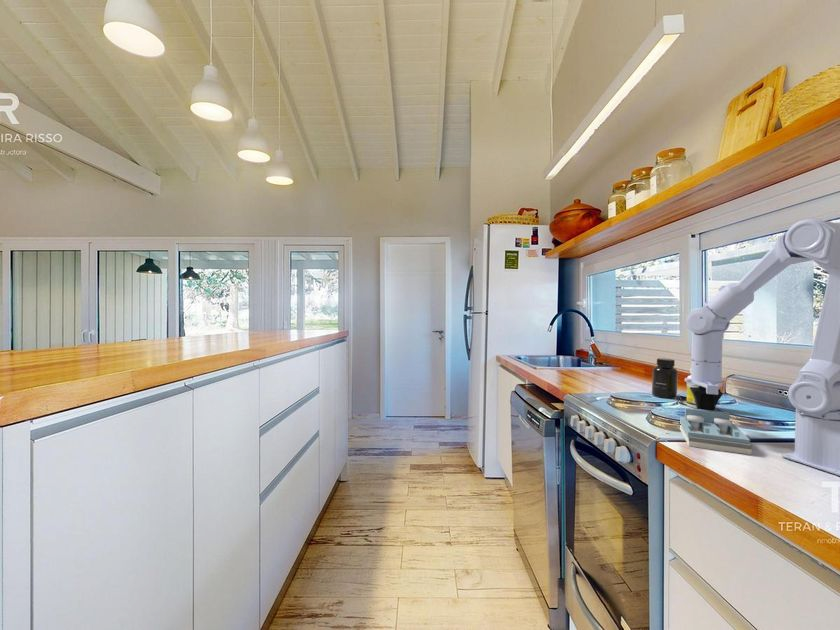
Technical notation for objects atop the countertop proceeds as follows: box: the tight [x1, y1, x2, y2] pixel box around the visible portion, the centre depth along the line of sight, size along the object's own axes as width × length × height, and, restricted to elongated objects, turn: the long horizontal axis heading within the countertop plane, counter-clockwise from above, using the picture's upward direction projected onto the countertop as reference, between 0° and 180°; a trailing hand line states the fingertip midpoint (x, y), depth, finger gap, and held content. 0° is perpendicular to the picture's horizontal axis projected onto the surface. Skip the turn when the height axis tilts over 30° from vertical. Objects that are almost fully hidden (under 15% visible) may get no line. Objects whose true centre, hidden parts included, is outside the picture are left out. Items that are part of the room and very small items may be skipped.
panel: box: [680, 407, 751, 444], centre depth 83 cm, size 12×10×4 cm
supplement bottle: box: [651, 357, 679, 400], centre depth 124 cm, size 7×7×12 cm
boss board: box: [679, 415, 753, 456], centre depth 86 cm, size 20×10×4 cm, turn 153°
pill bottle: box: [686, 367, 699, 409], centre depth 111 cm, size 6×6×11 cm
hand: (705, 419), depth 90 cm, fingers closed
